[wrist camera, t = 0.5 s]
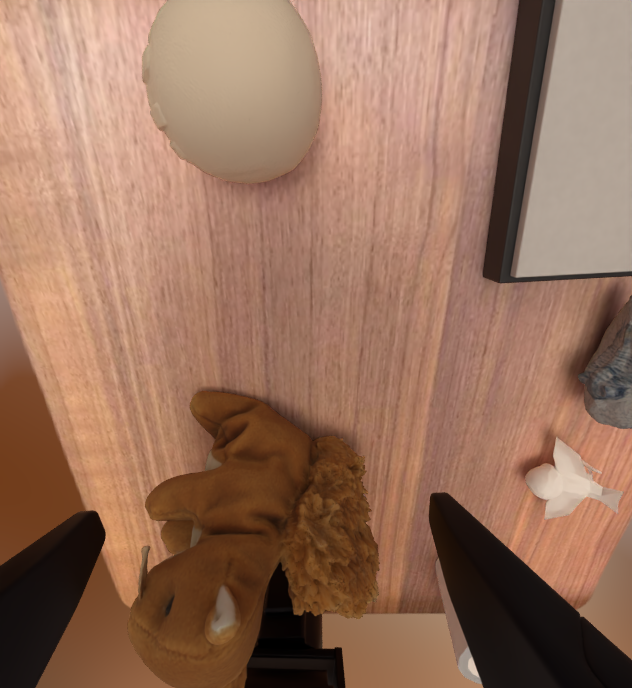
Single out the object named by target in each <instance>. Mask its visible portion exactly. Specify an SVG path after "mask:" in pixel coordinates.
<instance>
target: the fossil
mask: <svg viewBox="0 0 632 688" xmlns="http://www.w3.org/2000/svg"><path fill="white" fill-rule="evenodd" d="M578 378H579V381H581V382H582V383H583V384H585V389H584V403H585V407H586V410H587V412H588V413H589V415H590V416H591V417H592V418H594V419H595V420H596V421H597V422H598V423H601V424H606V425H610V426H613V427H617V428H620V429H627V428H632V295H631V296H630V299H629V301H628V302H627V303H626V304H625V305H624V306H623V308H622V309H621V310H620V311H619V313H618V315H617V316H616V317H615V318H614V319H613V320H612V322H611V324H610V325H609V326H608V328H607V330H606V332H605V334H604V336H603V338H602V339H601V343H600V345H599V347H598V349H597V351H596V352H595V353H594V355H593V356H592V358H591V360H590V362H589V363H588V365H587V367H586V368H585V371H584V372H583V373H581V374H578Z"/></svg>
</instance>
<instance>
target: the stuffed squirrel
mask: <svg viewBox="0 0 632 688" xmlns="http://www.w3.org/2000/svg"><path fill="white" fill-rule="evenodd" d="M190 409H191V412H192V414H193V416H194V417H195V418H196V420H197V421H198V422H199V423H200V424H201V425H202V426H203V427H204V428H205V430H206V431H208V432H209V433H210V434H211V435H212V436H213V437H214V438H215V442H214V444H213V447H212V449H211V451H210V452H209V455H208V457H207V462H206V466H205V471H202V472H198V473H190V474H185V475H180V476H176V477H173V478H170V479H168V480H166V481H164V482H162V483H161V484H160V485H158V486H157V487H156V488H155V489H154V490H153V491H152V492H151V493H150V494H149V496H148V497H147V499H146V502H145V508H146V509H147V511H148V513H149V516H150V518H151V519H152V520H156V521H167V522H166V523H165V525H164V526H163V528H162V531H161V539H162V541H163V542H164V543H165V544H166V547H167V549H168V551H169V552H170V553H172V554H174V556H172V557H169V558H167V559H165V560H164V561H162V562H161V563H160V564H158V565H156V566H155V567H153V568H152V569H151V571H150V572H149V573H148V574H147V572H148V571H147V562H148V560H147V558H148V552H149V550H150V546H144V547H143V548H142V551H141V552H142V564H141V570H140V575H139V583H138V584H139V588H138V593H139V594H138V597H137V598H136V599H135V601H134V602H133V605H132V607H131V612H130V618H129V620H128V623H127V629H128V635H129V639H130V641H131V643H132V645H133V647H134V648H135V651H136V652H137V654H138V655H139V657H140V658H141V659H142V660H143V662H144V663H145V665H146V666H147V667H148V668H149V669H150V670H151V671H152V672H153V673H154V674H155V675H156V676H157V677H158V678H160V679H161V680H162V681H164V682H165V683H167V684H168V685H170V686H172V687H175V688H244V687H245V681H246V678H247V663H248V661H249V659H250V657H251V655H252V652H253V649H254V646H255V643H256V640H257V637H258V634H259V630H260V624H261V618H262V612H263V604H264V597H265V592H266V589H267V586H268V583H269V580H270V578H271V576H272V574H273V572H274V571H275V569H276V568H277V566H278V564H279V562H281V563H282V570H283V571H284V570H285V576H286V577H287V578H288V582H289V588H288V593H289V596H290V598H291V599H292V604H293V610H294V611H293V613H294V615H297V614H298V615H299V616H300V615H302V614H303V612H304V610H306V612H309V611H311V613H313V614H314V616H317V615H319V614H323V613H324V612H325V611H329V612H330V611H333V612H336V611H337V612H338V613H339V614H340V615H341V616H344V617H346V618H352V617H354V618H356V619H360V618H361V617H363V616H362V614H366V607H367V603H371V602H372V601H373V602H375V603H376V600H377V596H378V595H379V594H378V593H379V592H378V586H377V584H378V583H377V581H376V571H379V570H380V569H379V564H380V563H379V558H378V556H379V553H378V545H377V543H376V542H375V541H374V537H373V536H372V532H371V529H370V527H369V526H368V525H367V524H366V522H367V521H369V520H370V517H369V515H368V512H370V511H372V510H371V509H370V508H369V503H368V502H367V501H366V500H367V499H366V497H365V496H364V495H363V494H364V493H366V494H368V491H367V490H366V489H365V488H364V486H362V485H363V484H362V483H363V482H361V479H362V477H361V476H363V475H364V474H365V473H366V471H365V465H363V464H364V463H365V462H364V461H365V460H364V459H365V456H363V457H362V456H358V455H357V454H356V453H355V452H354V451H353V450H352V449H351V448H350V446H349V445H347V444H346V443H345V442H343V438H341V439H340V438H336V436H325V437H321V438H317V439H315V440H313V441H312V440H311V438H310V437H309V436H308V435H307V434H306V433H304V432H303V431H301V430H300V429H299V428H297V427H296V426H295V425H293V424H292V423H290V422H289V421H288V420H286V419H285V418H284V417H282V416H280V415H279V414H278V413H277V412H275V411H274V410H273V409H272V408H270V407H269V406H268V405H267V404H265V403H264V402H262V401H259V400H256V399H253V398H249V397H245V396H240V395H236V394H230V393H224V392H208V391H201V392H199V393H197V394H195V395H194V396H193V398H192V401H191V402H190Z"/></svg>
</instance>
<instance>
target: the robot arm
mask: <svg viewBox="0 0 632 688" xmlns="http://www.w3.org/2000/svg"><path fill="white" fill-rule="evenodd" d="M429 523H430V527H431V531H432V535H433V539H434V542H435V546H436V550H437V554H438V557H439V561H440V565H441V569H442V572H443V576H444V580H445V583H446V587H447V590H448V593H449V596H450V599H451V602H452V605H453V607H454V610H455V613H456V615H457V618H458V621H459V623H460V626H461V629H462V631H463V634H464V637H465V639H466V642H467V645H468V647H469V650H470V653H471V655H472V658H473V661H474V664H475V666H476V669H477V672H478V674H479V677H480V680H481V682H482V685H483V687H484V688H632V660H631V659H630V658H629V657H628V656H627V655H626V654H624V653H623V652H622V651H621V650H620V649H619V648H618V647H617V646H615V645H614V644H613V643H612V642H611V641H610V640H608V639H607V638H606V637H605V636H604V635H603V634H602V633H601V632H600V631H598V630H597V629H596V628H595V627H594V626H593V625H592V624H591V623H590V622H589V621H588V620H586V619H585V618H584V617H580V614H579V612H578V611H576V610H575V609H574V608H573V607H572V606H571V605H570V604H569V603H568V602H567V601H565V600H564V599H563V598H562V597H561V596H560V595H559V594H558V593H557V592H556V591H554V590H553V589H552V588H551V587H550V586H549V585H548V584H547V583H546V582H545V581H544V580H542V579H541V578H540V577H539V576H538V575H537V574H536V573H535V572H534V571H533V570H531V569H530V568H529V567H528V566H527V565H526V564H525V563H524V562H523V561H522V560H521V559H519V558H518V557H517V556H516V555H515V554H514V553H513V552H512V551H511V550H510V549H508V548H507V547H506V546H505V545H504V544H503V543H502V542H501V541H500V540H499V539H498V538H496V537H495V536H494V535H493V534H492V533H491V532H490V531H489V530H488V529H487V528H485V527H484V526H483V525H482V524H481V523H480V522H479V521H478V520H477V519H476V518H475V517H473V516H472V515H471V514H470V513H469V512H468V511H467V510H466V509H465V508H464V507H462V506H461V505H460V504H459V503H458V502H457V501H456V500H455V499H454V498H453V497H452V496H450V495H449V494H448V493H445V492H442V493H432V494H431V496H430V506H429ZM105 536H106V533H105V529H104V527H103V524H102V522H101V520H100V517H99V515H98V513H97V512H96V511H80V512H78V513H76V514H75V515H73V516H72V517H70V518H69V519H67V520H66V521H64V522H63V523H62V524H60V525H59V526H57V527H56V528H54V529H53V530H51V531H50V532H48V533H47V534H46V535H44V536H43V537H41V538H40V539H38V540H37V541H35V542H34V543H33V544H31V545H30V546H28V547H27V548H25V549H24V550H22V551H21V552H20V553H18V554H17V555H15V556H14V557H12V558H11V559H9V560H8V561H7V562H5V563H4V564H2V565H1V566H0V688H35V687H36V685H37V684H38V681H39V679H40V678H41V676H42V674H43V672H44V670H45V668H46V666H47V664H48V662H49V660H50V658H51V656H52V654H53V652H54V651H55V649H56V647H57V645H58V643H59V641H60V639H61V637H62V635H63V633H64V631H65V629H66V627H67V625H68V623H69V622H70V620H71V617H72V616H73V613H74V612H75V610H76V608H77V605H78V603H79V601H80V599H81V597H82V594H83V592H84V589H85V587H86V585H87V582H88V580H89V578H90V575H91V573H92V570H93V568H94V566H95V563H96V561H97V558H98V556H99V554H100V551H101V549H102V546H103V544H104V541H105ZM288 588H289V582H288V578H287V577H286V576H285V570H284V571H283V570H282V563H281V562H279V564H278V566H277V568H276V569H275V571H274V572H273V574H272V576H271V578H270V580H269V583H268V586H267V589H266V592H265V597H264V604H263V612H262V618H261V624H260V630H259V634H258V637H257V640H256V643H255V646H254V649H253V652H252V655H251V657H250V659H249V661H248V663H247V678H246V681H245V687H244V688H345V678H344V667H343V657H342V648H339V647H335V649H322V614H319V615H317V616H314V614H313V613H311V611H309V612H306V610H304V612H303V614H302V615H300V616H299V615H298V614H297V615H294V613H293V611H294V610H293V604H292V599H291V598H290V596H289V593H288Z"/></svg>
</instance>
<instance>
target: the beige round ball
mask: <svg viewBox="0 0 632 688" xmlns="http://www.w3.org/2000/svg"><path fill="white" fill-rule="evenodd" d="M148 43H149V45H147V47H146V48H145V51H144V52H143V55H142V79H143V82H144V83H145V84H146V89H147V97H148V102H149V105H150V108H151V111H150V114H151V116H152V118H153V120H154V122H155V124H156V126H157V128H158V129H159V130H160V131H164V132H165V134H166V135H167V137H168V138H169V140H170V146H171V148H172V149H173V150H174V151H175V153H176V154H177V155H178V156H179V157H180V158H181V159H182V160H186V161H187V162H189V163H192V164H193V165H195V166H196V167H197V168H199V169H200V170H202V171H203V172H205V173H207V174H209V175H212V176H214V177H217V178H219V179H222V180H225V181H228V182H236V183H244V184H253V183H261V182H267V181H270V180H272V179H275V178H277V177H279V176H282V175H284V174H286V173H289V172H290V171H292V170H293V169H294V168H295V167H296V166H297V165H298V164H299V163H300V162H301V161H302V159H303V158H304V156H305V155H306V154H307V152H308V151H309V149H310V147H311V145H312V142H313V140H314V138H315V135H316V133H317V130H318V126H319V121H320V113H321V106H322V83H321V73H320V68H319V62H318V57H317V53H316V51H315V47H314V44H313V41H312V38H311V35H310V33H309V30H308V28H307V26H306V25H305V23H304V21H303V19H302V18H301V17H300V16H299V14H298V12H297V10H296V9H295V7H294V6H293V5H292V4H291V3H290V2H289V0H167V2H166V3H165V4H164V5H163V6H162V7H161V9H160V10H159V12H158V14H157V15H156V18H155V20H154V22H153V24H152V27H151V29H150V32H149V36H148Z"/></svg>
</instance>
